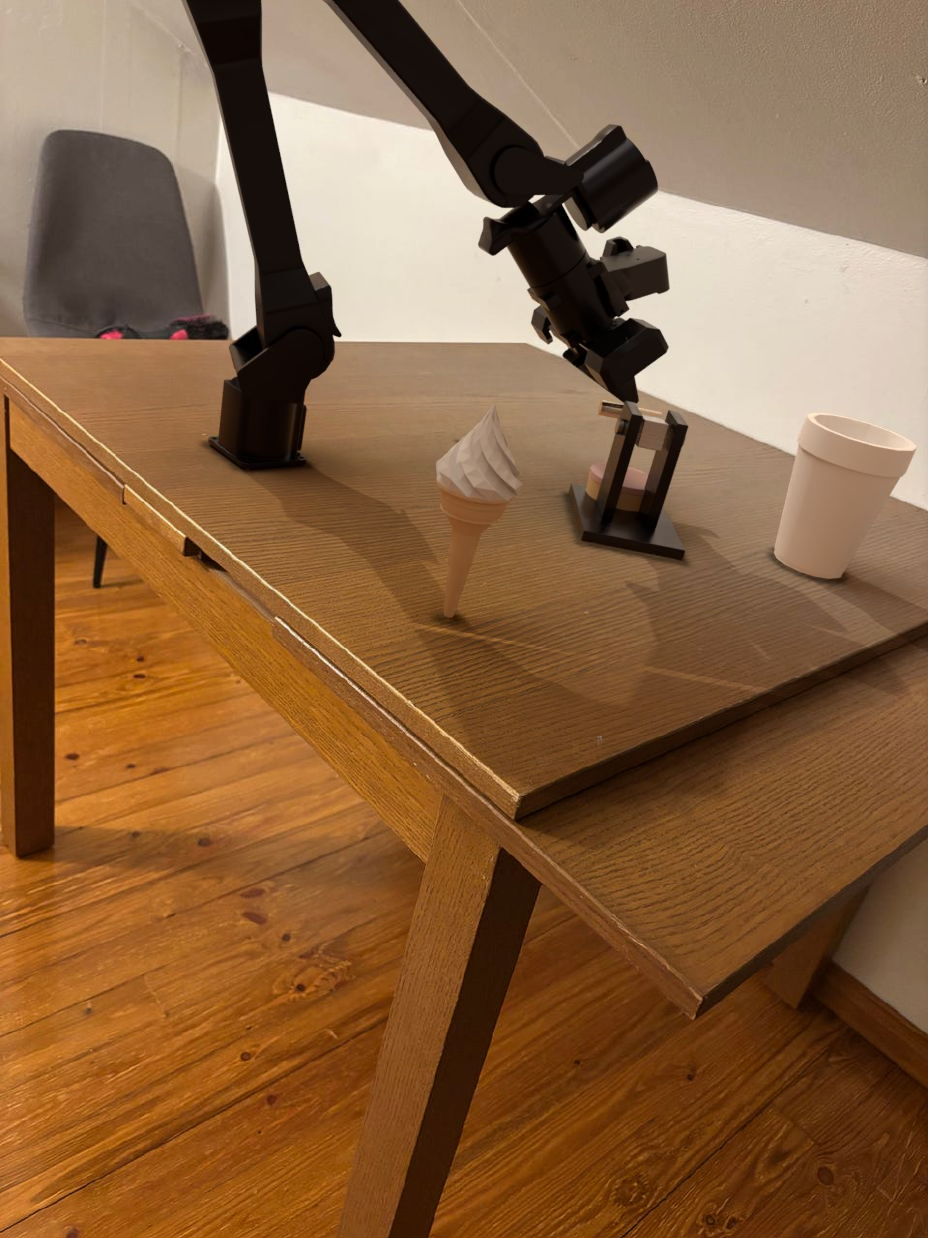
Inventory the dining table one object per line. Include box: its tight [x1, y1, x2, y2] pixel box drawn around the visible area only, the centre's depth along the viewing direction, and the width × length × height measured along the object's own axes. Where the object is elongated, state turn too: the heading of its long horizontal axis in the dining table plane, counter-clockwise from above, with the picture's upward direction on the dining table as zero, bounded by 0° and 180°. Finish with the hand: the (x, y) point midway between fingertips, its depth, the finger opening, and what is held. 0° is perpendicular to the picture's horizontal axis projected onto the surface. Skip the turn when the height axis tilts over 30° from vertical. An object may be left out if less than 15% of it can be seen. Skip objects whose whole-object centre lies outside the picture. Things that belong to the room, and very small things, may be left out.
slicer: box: [568, 401, 689, 561], centre depth 87 cm, size 12×9×11 cm
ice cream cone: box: [435, 403, 523, 619], centre depth 63 cm, size 6×6×15 cm
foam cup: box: [773, 412, 918, 580], centre depth 88 cm, size 10×9×13 cm
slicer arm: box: [597, 399, 669, 452], centre depth 90 cm, size 12×6×2 cm, turn 179°
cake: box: [585, 462, 649, 511], centre depth 93 cm, size 7×7×3 cm
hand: (633, 403), depth 94 cm, fingers closed
